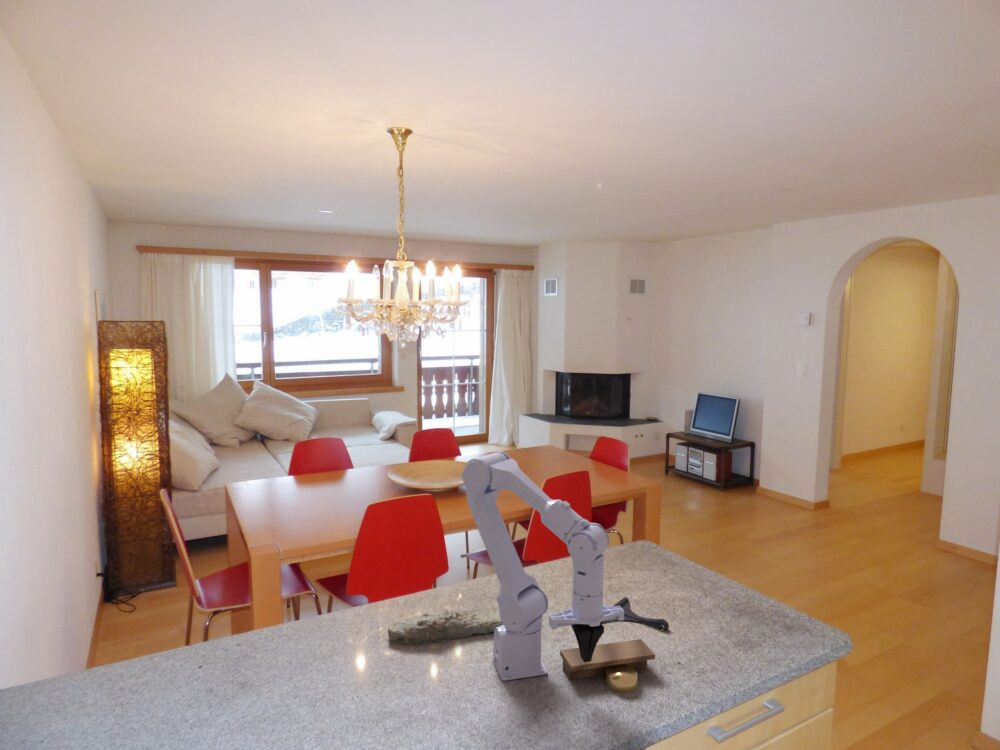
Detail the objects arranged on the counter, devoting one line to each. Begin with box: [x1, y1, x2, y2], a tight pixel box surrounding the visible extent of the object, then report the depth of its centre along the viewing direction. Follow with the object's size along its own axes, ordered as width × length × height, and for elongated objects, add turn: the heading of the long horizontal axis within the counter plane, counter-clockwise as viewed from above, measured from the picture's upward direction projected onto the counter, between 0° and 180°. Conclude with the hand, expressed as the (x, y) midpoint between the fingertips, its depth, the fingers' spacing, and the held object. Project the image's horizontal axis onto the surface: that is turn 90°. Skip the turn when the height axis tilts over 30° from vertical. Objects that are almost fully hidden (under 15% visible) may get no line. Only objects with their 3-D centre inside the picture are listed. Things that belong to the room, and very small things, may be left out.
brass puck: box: [605, 664, 639, 694], centre depth 120 cm, size 6×6×2 cm
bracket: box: [602, 596, 670, 632], centre depth 145 cm, size 14×15×3 cm
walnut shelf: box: [559, 638, 656, 680], centre depth 124 cm, size 18×6×4 cm, turn 105°
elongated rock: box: [387, 606, 503, 645], centre depth 140 cm, size 35×5×10 cm
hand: (585, 659), depth 117 cm, fingers closed
